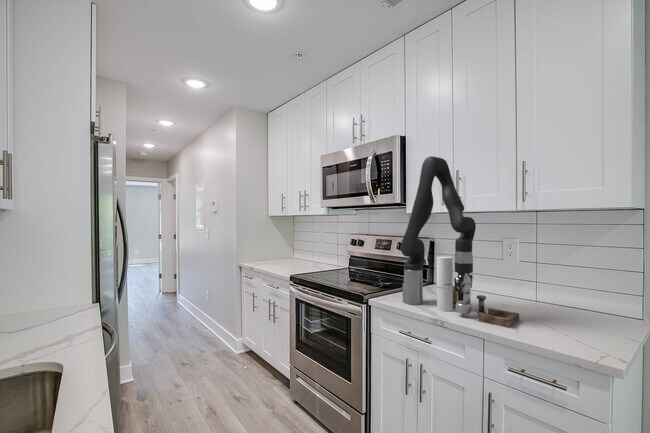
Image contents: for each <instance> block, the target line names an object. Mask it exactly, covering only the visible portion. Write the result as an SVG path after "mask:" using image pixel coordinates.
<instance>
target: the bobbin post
mask: <svg viewBox="0 0 650 433" xmlns="http://www.w3.org/2000/svg"><path fill="white" fill-rule="evenodd" d="M476 299H477V300H478V310H476V314H477V315H478V314H479V313H483V314H487V311H485V300H487V296H486V295H482V294H481V295H480V294H479V295H476Z"/></svg>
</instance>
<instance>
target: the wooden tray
mask: <svg viewBox="0 0 650 433" xmlns="http://www.w3.org/2000/svg"><path fill="white" fill-rule="evenodd" d="M519 321H520V313H519V312H515V311H514V312H513V311H508V310H502V309H498V308H492V307H489V308H487V313H486V314H483V313H479V314H477V322H482V323H486V324H490V325H494V326H495V325H496V326H498V327H499V326H500V327H504V328H508V329H509V328H511V327H513V326H514V325H515V324H517V323H518V322H519Z"/></svg>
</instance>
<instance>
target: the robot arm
mask: <svg viewBox="0 0 650 433" xmlns="http://www.w3.org/2000/svg"><path fill="white" fill-rule="evenodd" d="M435 177H436V178H437V180H438V181H439V183H440V186H441V195H442V196H441V197H442V200H443V204H444V206H445V208H446V209H447V212H448V216H449V222H450V225H451V228H452V229H453V231H455V232H456V233H458V234H459V233H460V235H459V237H458V238H456V239H455V242H454V243H455V244H454V245H455V247H454V248H455V252H454V272H455V273H457V276H458V277H454V278H453V281H454V282H453V285H454V286H455V291H457V292H458V300H459V301H463V291H464V287H465V283H464V284H463V285H461V282H463V280H464V276H465V273H468V276H469V277H470V279H471V288H470V289H472V288H473V279H474V277H473V274H472V273H473V272H474V254H473V241H474V238H475V233H476V229H477V228H476V226H477V225H476V222H475V220H474V218H472V217H471V216H464V215H463V212H464V211H465V205H464V204H463V202H462V200H461V198H460V196H459V194H458V191H457V189H456V186H455V183H454V180H453V176H452V175H451V171H450V168H449V163H448V162H447V160H446V159H444V158H442V157H437V156H428V157H426V158H425V159H424V161H423V162H422V165H421V170H420V176H419V182H418V186H417V191H416V194H415V195H416V196H415V199H414V202H413V205H412V209H411V213H410V217H409V220H408V224H407V228H406V230H405V233H404V236H403V238H402V240H401V245H400V252H401V253H402V255H403V256H405V257H408V260H406V262H405V263H404V264H403V283H402V303H405V304H407V305H414V306H415V305H416V306H417V305H418V306H419V305H422V304H423V303H424V302H423V301H424V300H423V299H424V291H423V290H424V288H423V287H424V285H423V284H424V282H423V281H424V280H423V279H424V277H423V275H424V274H423V268H424V267H423V266H424V264H425V243H424V241H423V240H422V239H421V238H419V235H420V232H421V230H422V229H423V228H424V226H425V225H427V222H428V221H429V219H430V217H431V215H432V212H433V208H434V196H433V189H432V188H433V183H434V179H435ZM466 278H467V277H466ZM457 286H458V287H457ZM461 287H462V288H461Z"/></svg>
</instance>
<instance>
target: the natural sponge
mask: <svg viewBox="0 0 650 433" xmlns="http://www.w3.org/2000/svg"><path fill="white" fill-rule="evenodd" d="M456 302H457V291H455V285H453V307H454V306H456Z"/></svg>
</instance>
